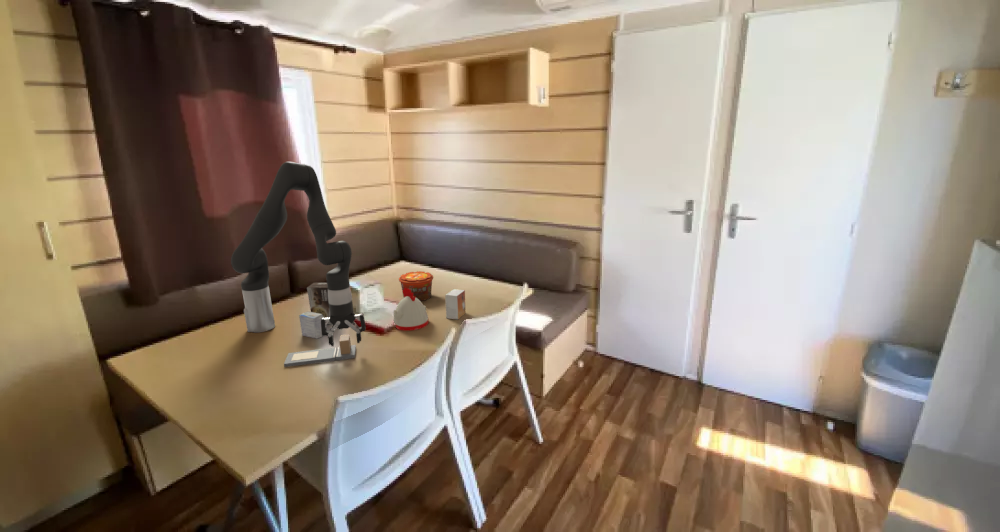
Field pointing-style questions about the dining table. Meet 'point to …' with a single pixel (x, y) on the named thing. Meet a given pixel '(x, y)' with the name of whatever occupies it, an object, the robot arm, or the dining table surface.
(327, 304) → the coffee box
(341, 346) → the stub
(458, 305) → the small box
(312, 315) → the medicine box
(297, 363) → the ticket
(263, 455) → the dining table surface
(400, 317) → the kitchen timer
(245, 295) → the robot arm
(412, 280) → the food container
